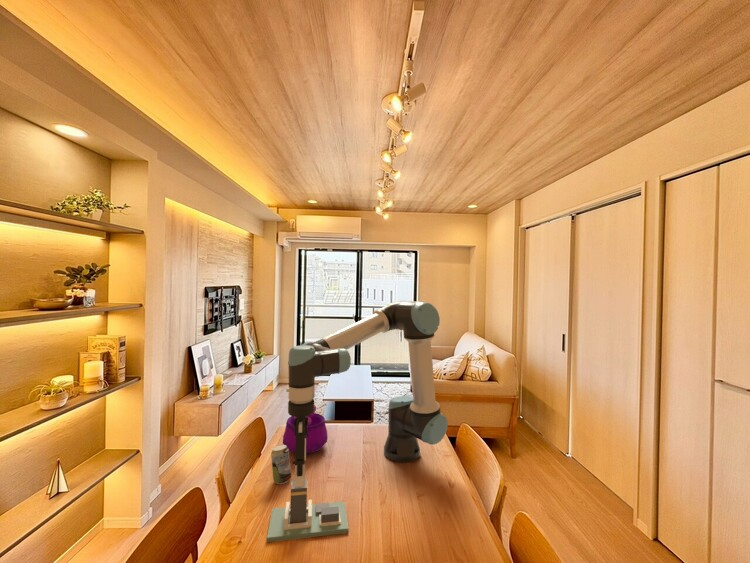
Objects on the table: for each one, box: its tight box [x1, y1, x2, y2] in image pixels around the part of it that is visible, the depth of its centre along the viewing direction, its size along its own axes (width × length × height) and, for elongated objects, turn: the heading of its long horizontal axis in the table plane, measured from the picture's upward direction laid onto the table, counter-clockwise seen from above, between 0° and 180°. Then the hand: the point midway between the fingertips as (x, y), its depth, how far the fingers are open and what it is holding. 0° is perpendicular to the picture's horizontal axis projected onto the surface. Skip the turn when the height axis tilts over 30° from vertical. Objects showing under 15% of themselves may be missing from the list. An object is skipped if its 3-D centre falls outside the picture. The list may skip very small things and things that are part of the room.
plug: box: [290, 478, 308, 524], centre depth 96 cm, size 5×5×10 cm
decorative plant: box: [282, 404, 328, 454], centre depth 141 cm, size 19×19×30 cm
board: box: [266, 499, 350, 543], centre depth 96 cm, size 22×12×4 cm, turn 101°
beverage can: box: [270, 444, 292, 485], centre depth 117 cm, size 6×7×12 cm
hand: (300, 472), depth 96 cm, fingers open, 13 cm apart
